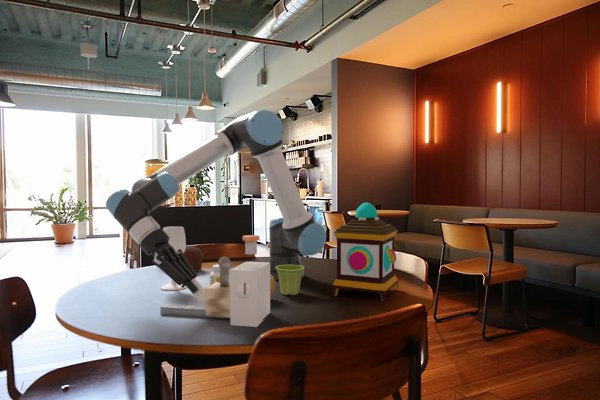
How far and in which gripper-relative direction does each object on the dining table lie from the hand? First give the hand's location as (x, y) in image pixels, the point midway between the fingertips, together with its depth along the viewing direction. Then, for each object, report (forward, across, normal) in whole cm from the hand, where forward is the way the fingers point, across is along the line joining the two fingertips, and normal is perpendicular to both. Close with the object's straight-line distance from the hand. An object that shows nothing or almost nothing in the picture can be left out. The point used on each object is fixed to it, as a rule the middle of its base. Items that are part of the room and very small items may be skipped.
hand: (206, 299), depth 111 cm
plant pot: (+15, -28, +9) cm, 33 cm away
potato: (+9, -16, +3) cm, 19 cm away
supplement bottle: (0, -20, -7) cm, 21 cm away
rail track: (+2, 0, -4) cm, 5 cm away
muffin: (-20, -56, -26) cm, 65 cm away
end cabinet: (+12, 0, +6) cm, 13 cm away
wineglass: (-14, -27, -20) cm, 37 cm away
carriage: (+6, 0, +1) cm, 6 cm away
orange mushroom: (0, 0, +18) cm, 18 cm away
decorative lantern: (+32, -34, +26) cm, 54 cm away
